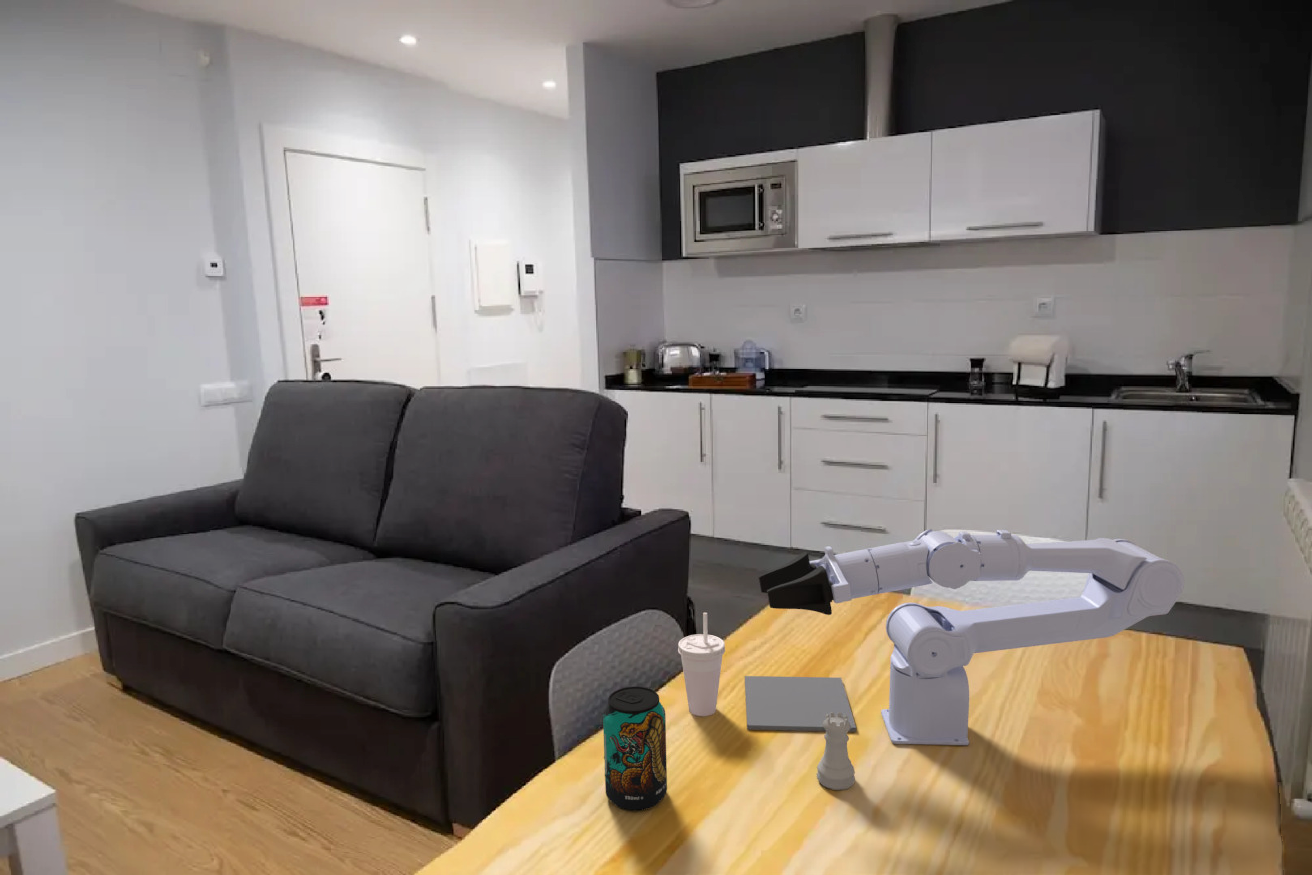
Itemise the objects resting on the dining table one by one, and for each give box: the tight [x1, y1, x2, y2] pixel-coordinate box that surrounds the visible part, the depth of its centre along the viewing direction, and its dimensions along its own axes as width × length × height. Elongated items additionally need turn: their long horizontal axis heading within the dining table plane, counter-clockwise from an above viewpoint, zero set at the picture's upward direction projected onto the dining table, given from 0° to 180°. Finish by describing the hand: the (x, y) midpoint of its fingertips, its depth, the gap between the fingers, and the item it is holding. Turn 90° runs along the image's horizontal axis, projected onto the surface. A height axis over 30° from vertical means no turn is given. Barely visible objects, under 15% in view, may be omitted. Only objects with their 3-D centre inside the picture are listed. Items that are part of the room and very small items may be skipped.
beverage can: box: [602, 686, 668, 812], centre depth 94 cm, size 7×7×12 cm
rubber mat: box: [744, 675, 857, 733], centre depth 114 cm, size 14×14×1 cm
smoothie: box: [677, 612, 726, 717], centre depth 112 cm, size 6×6×14 cm
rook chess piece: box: [816, 712, 856, 791], centre depth 96 cm, size 4×4×8 cm
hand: (764, 591), depth 103 cm, fingers open, 7 cm apart
